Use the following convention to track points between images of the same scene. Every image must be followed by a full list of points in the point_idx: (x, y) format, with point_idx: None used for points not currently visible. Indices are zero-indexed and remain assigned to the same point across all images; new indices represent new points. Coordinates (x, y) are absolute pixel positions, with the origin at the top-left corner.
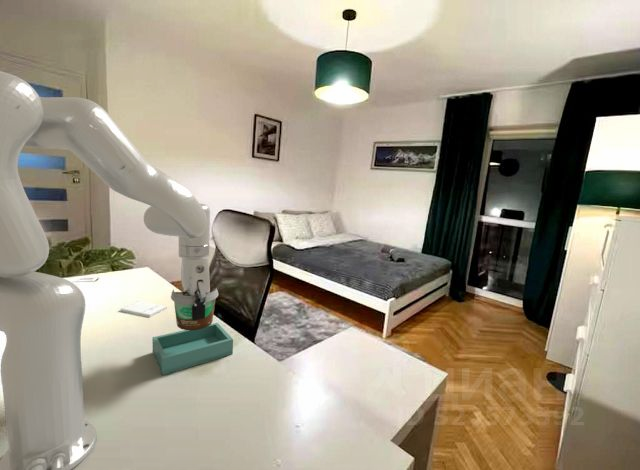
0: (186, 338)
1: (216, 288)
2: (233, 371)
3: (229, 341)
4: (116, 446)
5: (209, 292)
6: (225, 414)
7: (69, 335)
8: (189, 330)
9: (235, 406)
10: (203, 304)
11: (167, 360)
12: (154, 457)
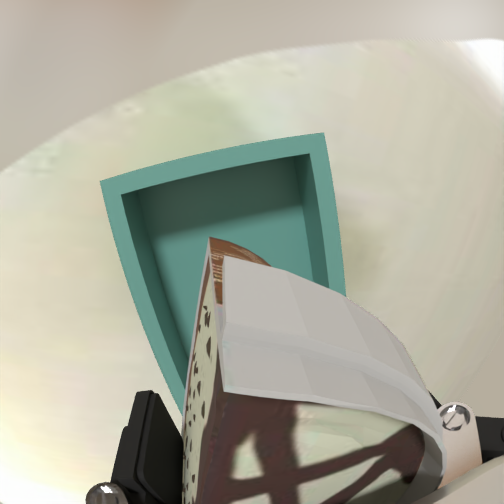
0: (168, 319)
1: (266, 391)
2: (399, 168)
3: (324, 151)
4: (459, 382)
5: (279, 445)
6: (497, 229)
7: None
8: (158, 325)
9: (492, 205)
10: (460, 414)
11: None
12: (497, 333)
